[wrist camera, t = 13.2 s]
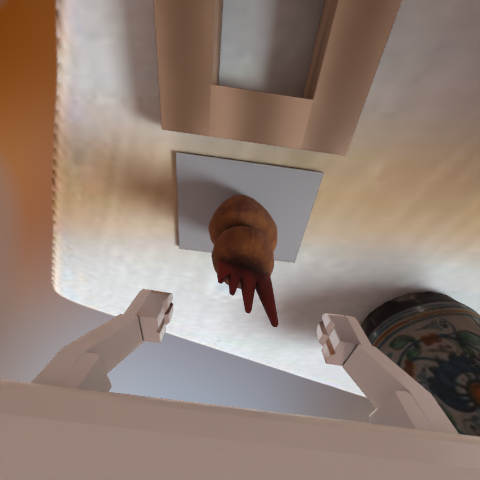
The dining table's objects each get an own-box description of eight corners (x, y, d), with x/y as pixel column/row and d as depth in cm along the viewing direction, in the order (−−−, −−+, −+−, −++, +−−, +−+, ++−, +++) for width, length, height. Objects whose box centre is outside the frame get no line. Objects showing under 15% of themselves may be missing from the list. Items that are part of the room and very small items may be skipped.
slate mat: (321, 172, 21) (323, 172, 20) (293, 260, 27) (294, 262, 26) (177, 151, 20) (175, 152, 20) (180, 246, 26) (179, 248, 26)
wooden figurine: (280, 215, 23) (328, 319, 10) (248, 246, 25) (252, 365, 12) (238, 177, 21) (227, 243, 8) (207, 214, 23) (157, 315, 10)
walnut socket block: (413, -114, 12) (479, -214, 9) (328, 152, 20) (345, 155, 17) (167, -163, 12) (134, -290, 8) (176, 130, 19) (161, 129, 16)
